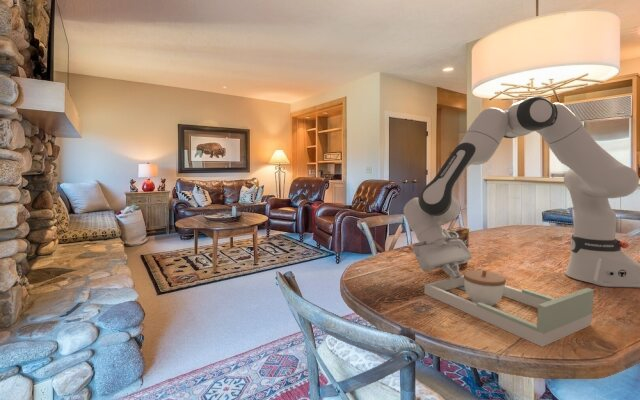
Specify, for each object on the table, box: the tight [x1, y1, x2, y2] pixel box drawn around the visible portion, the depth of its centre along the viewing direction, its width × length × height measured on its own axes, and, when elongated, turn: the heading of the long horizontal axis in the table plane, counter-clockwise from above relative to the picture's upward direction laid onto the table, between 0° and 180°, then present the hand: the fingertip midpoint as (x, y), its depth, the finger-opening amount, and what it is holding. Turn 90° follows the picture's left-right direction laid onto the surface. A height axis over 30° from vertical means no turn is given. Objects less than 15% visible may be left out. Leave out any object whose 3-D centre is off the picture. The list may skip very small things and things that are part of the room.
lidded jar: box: [463, 269, 507, 307], centre depth 95 cm, size 11×11×9 cm
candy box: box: [446, 226, 470, 270], centre depth 127 cm, size 9×4×15 cm, turn 123°
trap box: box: [423, 274, 593, 348], centre depth 91 cm, size 34×20×3 cm, turn 28°
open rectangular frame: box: [477, 287, 595, 334], centre depth 83 cm, size 16×21×6 cm
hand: (457, 277), depth 103 cm, fingers closed
